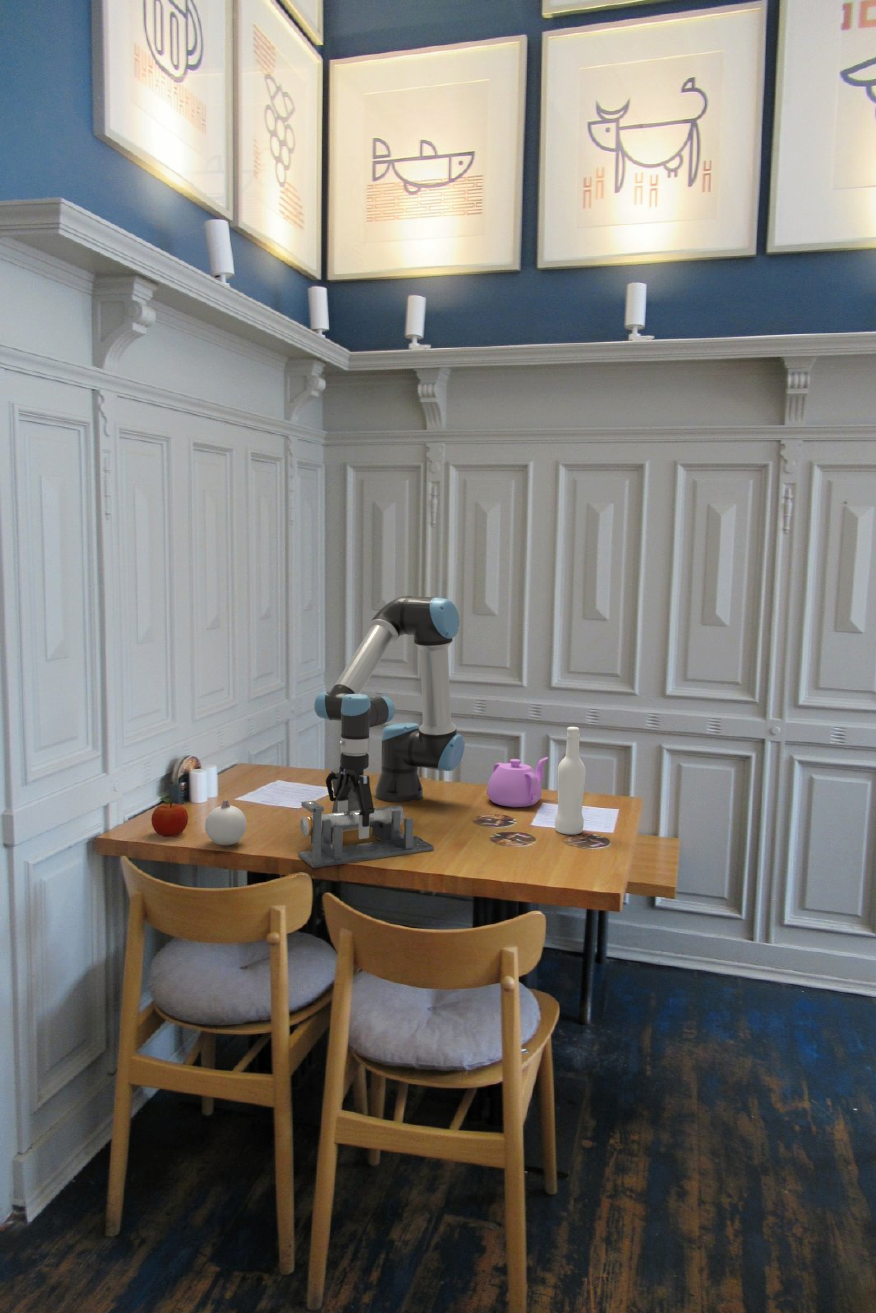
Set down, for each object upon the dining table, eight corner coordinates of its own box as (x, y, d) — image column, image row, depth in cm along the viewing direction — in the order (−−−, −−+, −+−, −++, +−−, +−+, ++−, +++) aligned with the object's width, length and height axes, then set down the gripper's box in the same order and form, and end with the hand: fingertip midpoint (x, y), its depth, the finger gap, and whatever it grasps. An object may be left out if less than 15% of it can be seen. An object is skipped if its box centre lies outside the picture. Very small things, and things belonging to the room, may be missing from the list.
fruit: (174, 841, 250) (174, 804, 249) (144, 837, 253) (144, 800, 252) (195, 832, 259) (195, 796, 258) (166, 827, 262) (166, 792, 261)
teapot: (568, 805, 298) (570, 762, 296) (514, 815, 285) (516, 769, 284) (523, 789, 316) (525, 749, 314) (471, 797, 303) (472, 755, 302)
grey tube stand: (415, 839, 258) (417, 785, 257) (434, 850, 249) (436, 794, 248) (295, 856, 241) (296, 798, 239) (311, 869, 232) (312, 808, 231)
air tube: (395, 820, 263) (395, 802, 263) (404, 825, 259) (404, 807, 258) (300, 833, 249) (300, 813, 249) (307, 838, 245) (308, 819, 244)
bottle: (585, 829, 273) (590, 726, 269) (580, 836, 265) (585, 731, 262) (557, 825, 275) (562, 723, 272) (551, 833, 268) (556, 728, 264)
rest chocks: (381, 833, 263) (382, 815, 262) (394, 840, 256) (394, 822, 256) (310, 842, 253) (311, 824, 252) (321, 851, 246) (322, 832, 245)
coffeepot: (348, 814, 281) (350, 754, 278) (373, 820, 275) (375, 759, 273) (313, 825, 268) (314, 763, 266) (338, 832, 263) (339, 768, 261)
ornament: (226, 852, 242) (226, 806, 241) (197, 845, 248) (197, 800, 246) (254, 842, 251) (254, 798, 250) (225, 835, 256) (225, 792, 255)
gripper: (323, 744, 261) (321, 820, 263) (361, 763, 239) (359, 845, 241) (348, 742, 264) (346, 817, 267) (388, 761, 243) (386, 842, 245)
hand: (352, 831), depth 254 cm, fingers open, 13 cm apart
